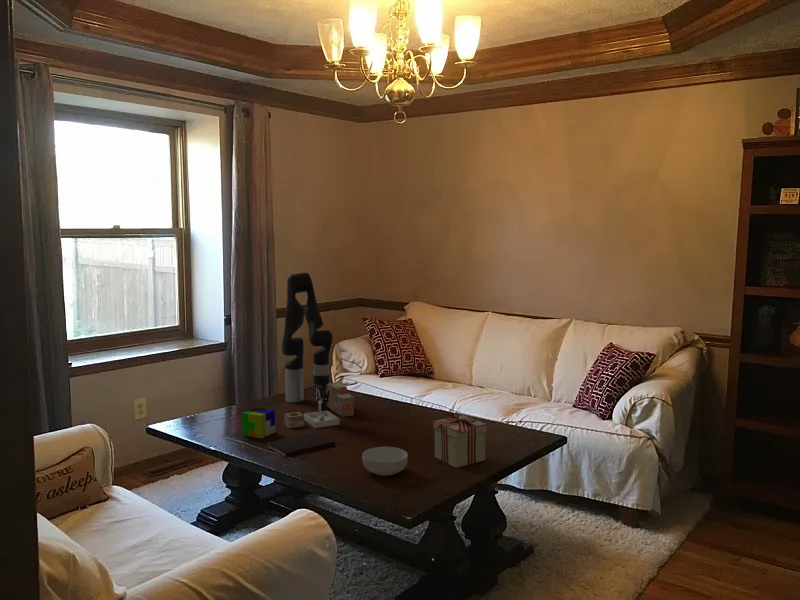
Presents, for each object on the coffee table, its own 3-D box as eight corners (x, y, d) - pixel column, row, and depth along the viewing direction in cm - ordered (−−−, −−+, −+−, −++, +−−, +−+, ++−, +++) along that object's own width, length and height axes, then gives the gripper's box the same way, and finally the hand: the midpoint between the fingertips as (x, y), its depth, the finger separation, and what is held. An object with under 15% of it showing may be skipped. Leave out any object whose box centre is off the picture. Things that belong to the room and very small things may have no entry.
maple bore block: (284, 424, 309) (284, 413, 308) (298, 422, 312) (298, 411, 311) (289, 428, 302) (289, 417, 302) (303, 426, 306) (303, 415, 305)
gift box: (425, 459, 262) (426, 416, 260) (460, 450, 273) (461, 408, 271) (454, 471, 248) (455, 426, 246) (490, 461, 259) (491, 418, 258)
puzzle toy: (275, 432, 296) (274, 410, 295) (261, 438, 287) (260, 415, 286) (256, 429, 300) (256, 407, 299) (242, 435, 291) (241, 413, 290)
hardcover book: (266, 448, 276) (266, 442, 276) (314, 437, 290) (314, 432, 290) (285, 458, 263) (285, 452, 263) (335, 446, 278) (335, 441, 277)
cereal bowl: (352, 474, 245) (352, 455, 244) (379, 461, 259) (379, 443, 258) (391, 484, 236) (391, 464, 235) (416, 470, 250) (416, 452, 249)
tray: (303, 419, 316) (303, 413, 316) (327, 416, 322) (327, 410, 322) (315, 428, 302) (315, 422, 302) (340, 424, 308) (340, 419, 307)
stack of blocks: (354, 415, 323) (354, 390, 322) (342, 417, 320) (341, 392, 319) (338, 405, 342) (338, 381, 341) (326, 406, 340) (326, 382, 338)
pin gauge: (317, 420, 313) (317, 394, 311) (323, 419, 314) (322, 394, 313) (319, 421, 310) (319, 396, 309) (325, 420, 312) (324, 395, 310)
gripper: (308, 371, 314) (308, 406, 316) (318, 377, 302) (319, 414, 303) (323, 369, 318) (323, 404, 320) (334, 375, 305) (334, 412, 307)
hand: (321, 409), depth 311 cm, fingers open, 5 cm apart
